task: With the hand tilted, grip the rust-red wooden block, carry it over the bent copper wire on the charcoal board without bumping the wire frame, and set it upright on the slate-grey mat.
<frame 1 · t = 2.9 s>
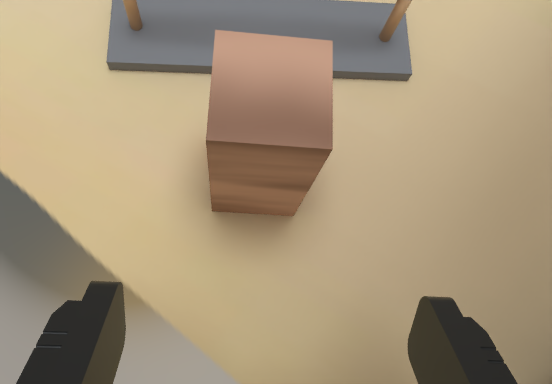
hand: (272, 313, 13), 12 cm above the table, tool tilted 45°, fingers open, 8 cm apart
wire frame: (262, 43, 30), on the table
block: (255, 174, 27), on the table
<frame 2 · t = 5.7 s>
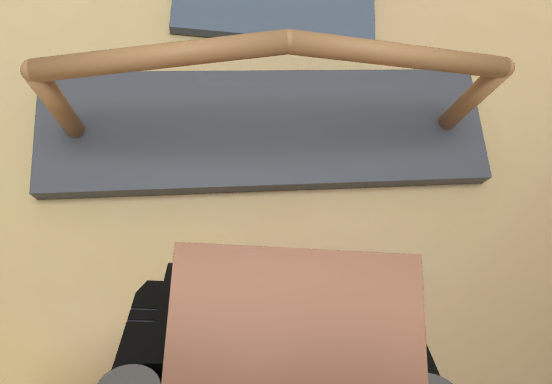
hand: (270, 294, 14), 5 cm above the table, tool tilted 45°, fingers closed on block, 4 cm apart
wire frame: (267, 137, 21), on the table
block: (257, 357, 18), on the table, touching gripper
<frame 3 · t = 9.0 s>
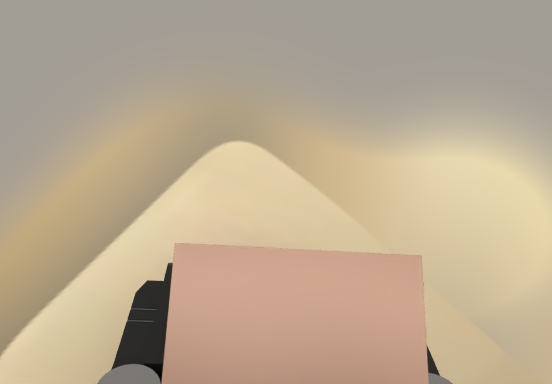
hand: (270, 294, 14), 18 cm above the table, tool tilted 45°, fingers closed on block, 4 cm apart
block: (257, 357, 18), point 13 cm above the table, touching gripper
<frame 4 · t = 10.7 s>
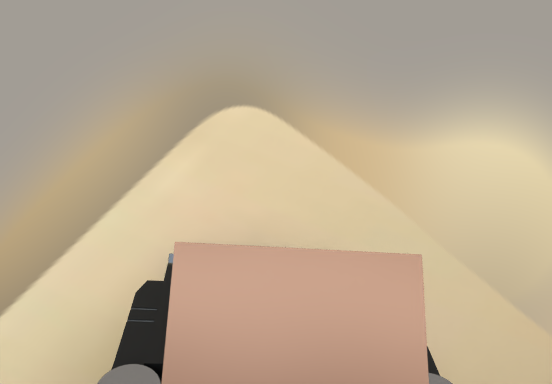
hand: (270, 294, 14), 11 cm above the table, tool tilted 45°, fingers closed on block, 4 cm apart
block: (257, 357, 18), point 7 cm above the table, touching gripper
when the fingers open (7 cm above the table, at t = 12.3 s): block drops 1 cm, resting on mat.
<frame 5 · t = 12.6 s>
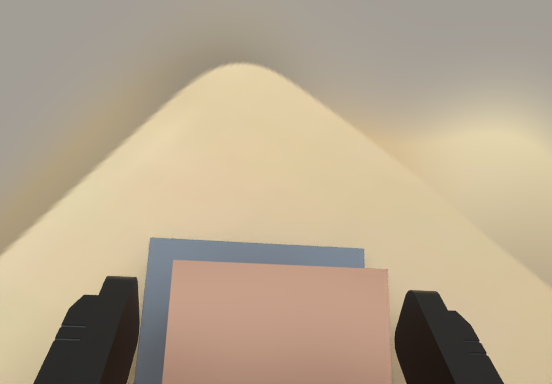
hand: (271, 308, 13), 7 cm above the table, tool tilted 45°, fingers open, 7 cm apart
mat: (253, 355, 19), on the table
block: (251, 358, 19), resting on mat
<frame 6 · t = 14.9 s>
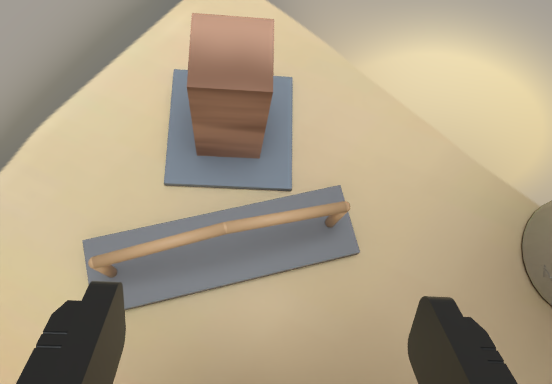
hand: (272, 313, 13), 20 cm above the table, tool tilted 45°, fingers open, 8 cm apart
wire frame: (224, 249, 34), on the table
mat: (231, 130, 36), on the table
block: (229, 128, 35), resting on mat
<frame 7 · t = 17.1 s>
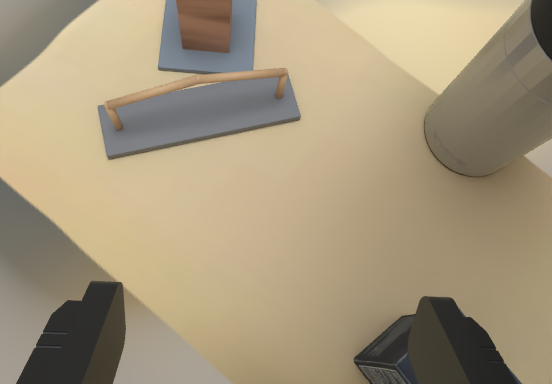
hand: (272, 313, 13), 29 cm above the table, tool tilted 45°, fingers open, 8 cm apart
wire frame: (201, 116, 46), on the table
mat: (209, 33, 48), on the table
block: (207, 31, 48), resting on mat
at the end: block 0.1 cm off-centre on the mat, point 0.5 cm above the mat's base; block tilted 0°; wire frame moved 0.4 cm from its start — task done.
